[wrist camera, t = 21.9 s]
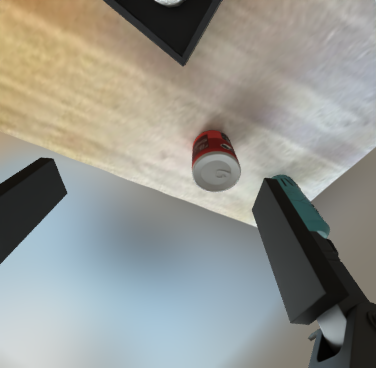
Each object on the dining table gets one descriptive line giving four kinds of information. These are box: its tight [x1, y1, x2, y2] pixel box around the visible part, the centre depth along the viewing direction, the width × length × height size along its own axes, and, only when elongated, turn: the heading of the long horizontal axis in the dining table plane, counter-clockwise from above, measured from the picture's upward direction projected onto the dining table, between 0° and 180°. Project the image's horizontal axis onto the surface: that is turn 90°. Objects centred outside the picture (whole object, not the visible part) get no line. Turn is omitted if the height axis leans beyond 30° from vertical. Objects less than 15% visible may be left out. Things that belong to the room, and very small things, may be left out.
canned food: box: [192, 130, 241, 192], centre depth 33 cm, size 8×8×11 cm
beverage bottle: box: [271, 175, 338, 256], centre depth 34 cm, size 6×7×20 cm
